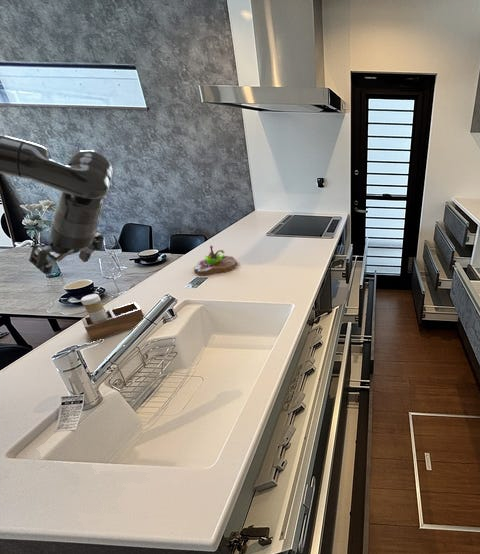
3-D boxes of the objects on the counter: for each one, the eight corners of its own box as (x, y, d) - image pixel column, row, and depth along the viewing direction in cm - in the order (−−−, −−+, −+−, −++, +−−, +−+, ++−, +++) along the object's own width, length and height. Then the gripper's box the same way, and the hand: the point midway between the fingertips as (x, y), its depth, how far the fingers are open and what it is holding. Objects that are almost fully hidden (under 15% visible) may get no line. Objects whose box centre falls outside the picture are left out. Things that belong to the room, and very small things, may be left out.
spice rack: (88, 333, 105) (81, 318, 103) (141, 315, 115) (135, 301, 113) (92, 342, 100) (84, 327, 98) (146, 323, 110) (141, 308, 108)
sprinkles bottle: (114, 325, 108) (99, 292, 102) (113, 331, 104) (97, 297, 99) (97, 330, 105) (81, 296, 100) (96, 336, 102) (79, 301, 96)
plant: (236, 257, 170) (232, 238, 165) (237, 270, 153) (232, 249, 149) (196, 263, 163) (191, 243, 158) (193, 277, 146) (186, 255, 142)
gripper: (95, 207, 78) (83, 246, 86) (24, 221, 66) (18, 265, 74) (118, 229, 79) (104, 265, 87) (52, 246, 66) (43, 287, 74)
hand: (64, 265), depth 80 cm, fingers open, 8 cm apart
